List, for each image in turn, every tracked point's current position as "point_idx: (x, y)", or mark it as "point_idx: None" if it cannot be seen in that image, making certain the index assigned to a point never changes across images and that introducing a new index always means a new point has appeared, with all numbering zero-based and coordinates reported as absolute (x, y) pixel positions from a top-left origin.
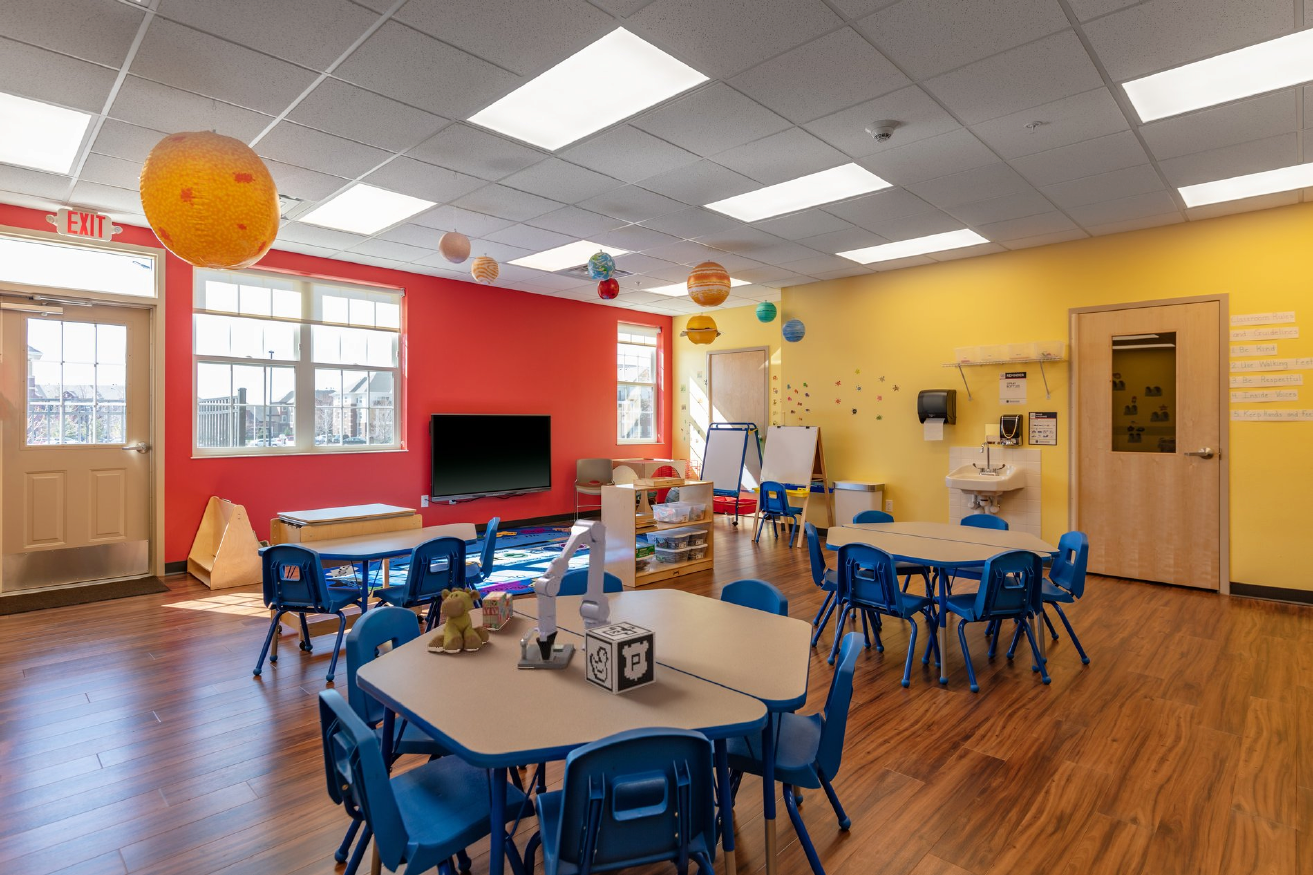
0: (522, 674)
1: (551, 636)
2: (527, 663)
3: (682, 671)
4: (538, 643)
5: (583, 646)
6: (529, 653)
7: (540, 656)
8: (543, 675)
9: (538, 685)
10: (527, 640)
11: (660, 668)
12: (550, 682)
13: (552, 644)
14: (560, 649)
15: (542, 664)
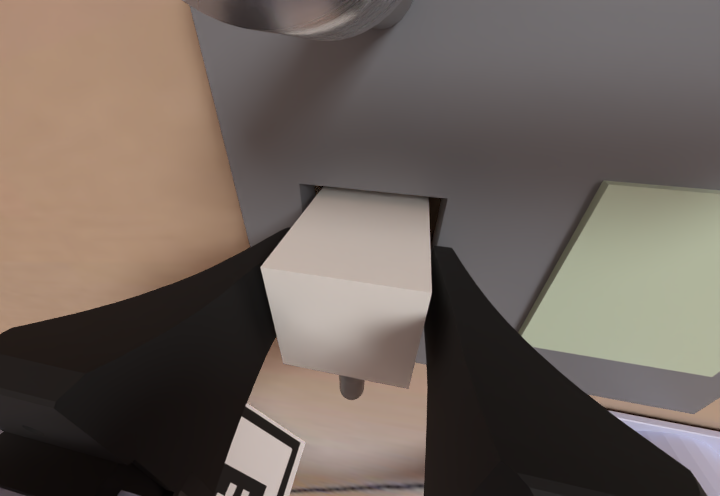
0: (105, 55)
1: (436, 482)
2: (219, 80)
3: (297, 490)
4: (73, 328)
5: (636, 425)
6: (616, 27)
7: (301, 220)
8: (156, 216)
9: (24, 199)
10: (260, 28)
11: (313, 479)
12: (91, 251)
13: (406, 377)
14: (342, 384)
15: (247, 218)
